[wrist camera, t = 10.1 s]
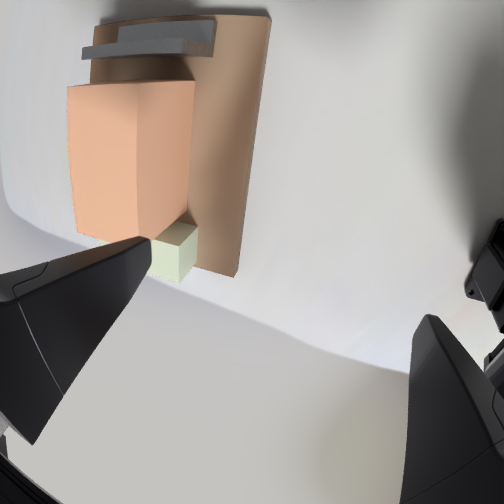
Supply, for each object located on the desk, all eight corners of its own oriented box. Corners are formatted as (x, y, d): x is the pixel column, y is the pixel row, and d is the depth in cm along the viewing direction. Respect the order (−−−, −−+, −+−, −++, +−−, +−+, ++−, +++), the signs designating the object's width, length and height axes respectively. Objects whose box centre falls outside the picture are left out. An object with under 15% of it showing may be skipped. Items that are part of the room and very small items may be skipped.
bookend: (217, 21, 15) (187, 9, 12) (212, 57, 16) (181, 52, 13) (124, 27, 16) (85, 23, 13) (121, 58, 17) (81, 59, 14)
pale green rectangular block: (198, 226, 22) (178, 246, 20) (196, 261, 24) (178, 283, 21) (119, 207, 23) (95, 223, 21) (122, 239, 25) (100, 257, 23)
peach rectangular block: (195, 80, 17) (138, 83, 12) (186, 210, 22) (139, 251, 17) (130, 79, 18) (67, 87, 13) (129, 197, 23) (77, 232, 18)
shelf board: (271, 20, 15) (268, 16, 14) (237, 270, 24) (233, 277, 24) (103, 27, 17) (94, 26, 16) (103, 231, 27) (96, 236, 26)
